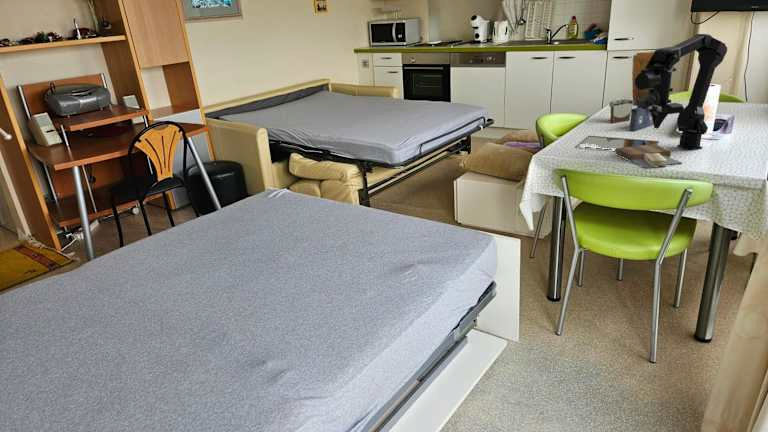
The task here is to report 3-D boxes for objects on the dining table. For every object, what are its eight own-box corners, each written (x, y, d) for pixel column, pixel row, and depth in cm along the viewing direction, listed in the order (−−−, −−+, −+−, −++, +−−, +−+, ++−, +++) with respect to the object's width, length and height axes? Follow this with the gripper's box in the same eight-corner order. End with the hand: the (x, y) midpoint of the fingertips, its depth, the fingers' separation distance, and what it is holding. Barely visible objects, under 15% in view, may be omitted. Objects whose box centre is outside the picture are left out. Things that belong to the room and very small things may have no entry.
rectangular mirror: (575, 148, 213) (649, 155, 198) (575, 146, 213) (649, 153, 197) (588, 137, 227) (658, 143, 212) (588, 135, 227) (659, 141, 211)
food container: (622, 118, 254) (624, 98, 250) (631, 120, 249) (634, 99, 245) (601, 121, 251) (603, 101, 247) (610, 124, 245) (612, 103, 242)
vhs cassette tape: (650, 123, 241) (653, 102, 237) (657, 124, 239) (659, 102, 235) (627, 130, 232) (630, 108, 228) (634, 131, 230) (636, 109, 226)
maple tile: (657, 158, 191) (658, 153, 190) (666, 165, 182) (667, 160, 182) (643, 158, 191) (644, 153, 191) (651, 165, 183) (652, 160, 182)
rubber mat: (665, 157, 193) (665, 155, 193) (681, 164, 185) (681, 162, 184) (630, 161, 191) (630, 160, 191) (645, 168, 183) (645, 166, 183)
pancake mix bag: (666, 107, 269) (674, 51, 258) (627, 106, 279) (633, 52, 268) (668, 105, 274) (676, 50, 263) (629, 103, 284) (635, 50, 273)
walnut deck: (653, 150, 202) (654, 144, 201) (670, 156, 193) (671, 150, 192) (615, 154, 200) (616, 148, 199) (630, 161, 191) (631, 155, 190)
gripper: (625, 84, 192) (621, 125, 198) (658, 92, 175) (653, 136, 181) (652, 81, 193) (647, 122, 199) (687, 88, 176) (681, 132, 182)
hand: (656, 128), depth 190 cm, fingers closed
